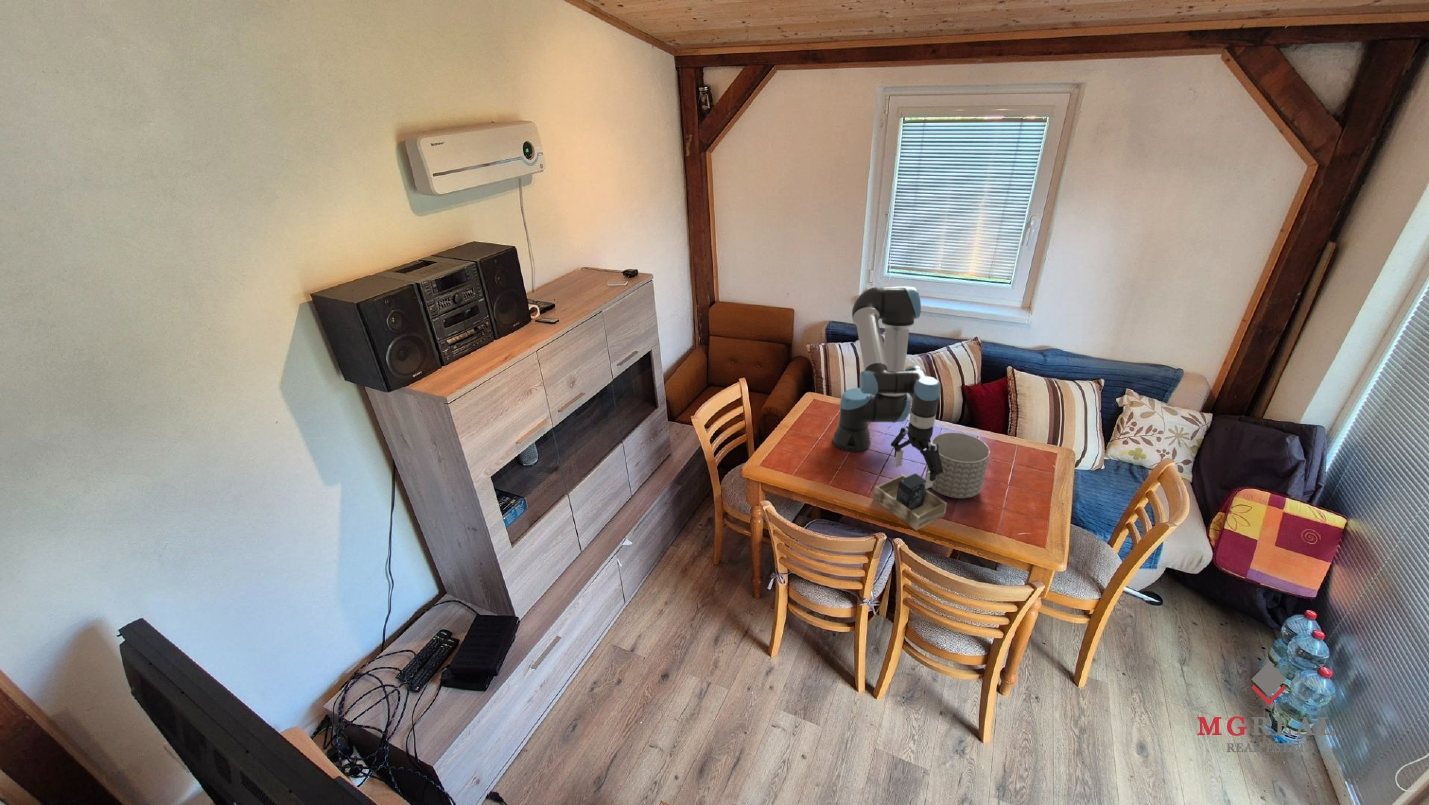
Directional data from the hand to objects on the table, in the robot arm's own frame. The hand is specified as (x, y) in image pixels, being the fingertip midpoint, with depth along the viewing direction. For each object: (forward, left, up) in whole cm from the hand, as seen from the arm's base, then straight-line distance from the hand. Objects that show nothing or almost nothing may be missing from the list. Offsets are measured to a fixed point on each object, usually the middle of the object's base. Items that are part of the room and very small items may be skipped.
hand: (912, 476), depth 190 cm
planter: (+1, +21, -13) cm, 25 cm away
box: (+1, 0, -12) cm, 12 cm away
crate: (0, 0, -13) cm, 13 cm away
